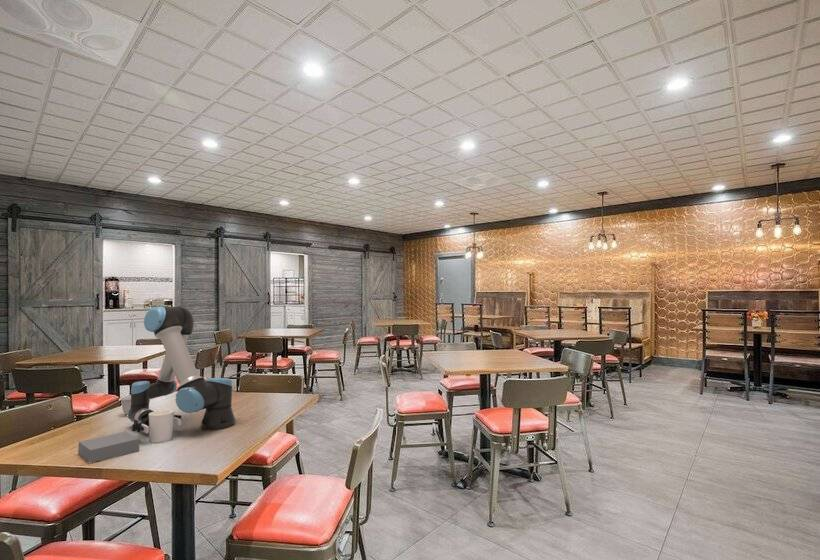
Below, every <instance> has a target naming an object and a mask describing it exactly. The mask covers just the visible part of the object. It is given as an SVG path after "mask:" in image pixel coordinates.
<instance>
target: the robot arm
mask: <svg viewBox="0 0 820 560" xmlns="http://www.w3.org/2000/svg"><path fill="white" fill-rule="evenodd" d="M194 321H195V320H194V317H193V314H192V313H191V311H190V310H189V309H187V308H186V307H184V306H155V307H152V308H149V309H148V310H147V312H146V314H145V316H144V319H143V325H144V328H145V329H146V330H147V332H151V333H153V334H154V337H155V338H156V339H159V340H160V342H161V345H162V346H163V348H164V350H165V355H164V358H163V361H162V365H161V368H160V370H159V374H158V377H157V380H156V382H153V383H150V381H148V380H140V381H135V382H133V383H132V384H131V388H130V395H131V406H130V409H129V411H128V416H127V417H128V419H129V420H130V421H131V423H133V424H132V425H131V432H136V431H137V433H141V432H143V433H145V434H149V415H148V414H149V413H151V412H154V411H155V410H153V409H150V402H149V400H150V401H151V400H153V399H157V398H160V397H164V396H166V397H167V396H168V395H169V396H170V395H171V394H173V393H175V392H176V391H177V392H176V394H175V399H174V400H175V404H176V407H177V408H178V409H179V410H180V411H181V412H183V413H186V414H192V413H199V412H200V411H203V410H205V411H204V414H203V417H202V420H201V422H200V428H201V430H202V429H203V430H209V431H210V430H212V431H213V430H221V429H225V428H226V427H227V428H230V427H232V426H234V425H235V423H236V417H235V414H234V412H233V409H232V403H233V402H232V400H233V399H232V398H233V397H232V396H233V381H232V379H230V378H229V377H228V378H227V377H226V378H225V377H211V378H210V377H209V378H207V379H205V377H203V376H200V375H199V373H198V369H197V368H196V365H195V363H194V361H193V359H192V356H191V354H190V353H191V352H190V351H189V349H188V347H187V342H188V340H189V339H188V338H189V336H191V335H192V333H193V330H194V325H195V322H194ZM175 378H176V379H177V381H176V380H175ZM177 382H178V386H177ZM173 425H176V426H178V427H180V426H182V415H179V414H174V421H173ZM229 426H230V427H229ZM227 428H226V429H227Z"/></svg>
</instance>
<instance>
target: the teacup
mask: <svg viewBox="0 0 820 560" xmlns="http://www.w3.org/2000/svg"><path fill="white" fill-rule="evenodd" d="M119 399H120V400H121V401H120V402H121V406H122V413H124V414H126V415H128V411H129V409H130V406H131V394H129V395H124V396H121V397H120V398H119ZM150 401H151V399H150V400H149V403H151V402H150Z"/></svg>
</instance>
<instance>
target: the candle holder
mask: <svg viewBox="0 0 820 560" xmlns="http://www.w3.org/2000/svg"><path fill="white" fill-rule="evenodd" d="M153 411H154V412H151V413H149V414H148V415H149V432H148V434H149V436H148V437H149V442H150V443H153V444H158V443H159V444H160V443H164V442H167V441H170V440H172V439H173V429H174V423H173V421H174V415H175V409H171V408H169V409H167V408H166V409H159V410H153Z"/></svg>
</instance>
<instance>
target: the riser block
mask: <svg viewBox="0 0 820 560" xmlns="http://www.w3.org/2000/svg"><path fill="white" fill-rule="evenodd" d="M77 450H78V453H77V455H78V454H79V455H78V456H80V457H81V456H82V457H83V458H84V459H83V458H82V457H81V458H82V459H83V460H84V461H86V460H87V461H88V462H90V463H91V462H95V463H97V462H96V461H99V462H101V461H100V460H103V461H106V460H105V459H107V460H110V459H109V458H111V459H113V457H114V458H119V457H122V456H126V455H129V454H133V453H137V452H139V451H140V437H137V436H136V435H134V434H132V433H130V432H128V431H121V432H116V433H113V434H112V433H111V434H107V435H103V436H98V437H94V438H89V439H84V440H80V441H78V449H77ZM87 461H86V462H87ZM88 462H87V463H88ZM90 463H89V464H90ZM91 464H92V463H91Z"/></svg>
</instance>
